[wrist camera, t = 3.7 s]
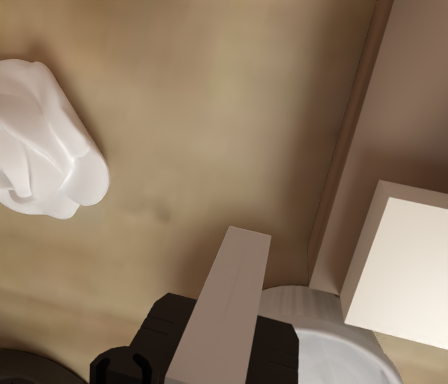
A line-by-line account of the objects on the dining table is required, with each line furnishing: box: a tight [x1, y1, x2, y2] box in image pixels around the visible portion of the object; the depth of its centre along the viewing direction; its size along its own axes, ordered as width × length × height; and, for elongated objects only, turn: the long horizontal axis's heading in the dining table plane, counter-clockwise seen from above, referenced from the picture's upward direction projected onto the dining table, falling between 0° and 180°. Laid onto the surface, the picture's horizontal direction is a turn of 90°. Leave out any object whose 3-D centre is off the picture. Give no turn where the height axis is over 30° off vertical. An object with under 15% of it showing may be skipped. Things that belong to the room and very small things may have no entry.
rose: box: [0, 59, 110, 219], centre depth 21 cm, size 10×4×10 cm
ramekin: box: [257, 285, 403, 384], centre depth 22 cm, size 11×11×5 cm
